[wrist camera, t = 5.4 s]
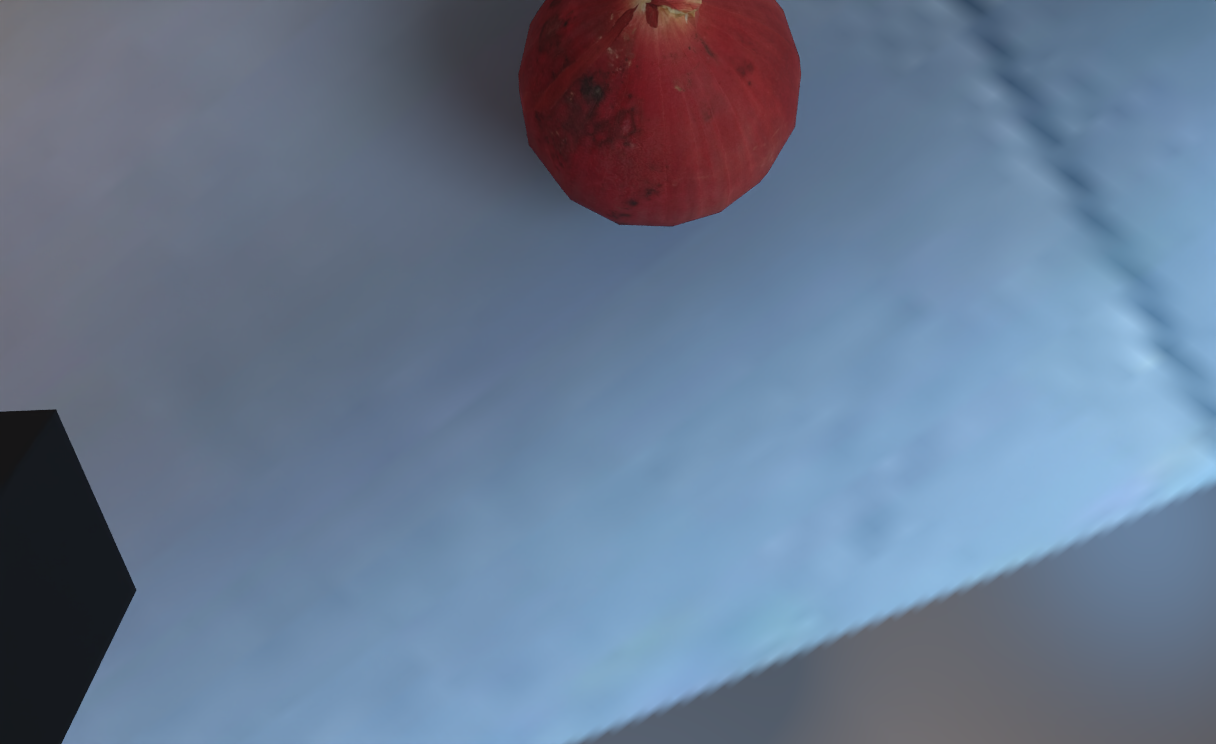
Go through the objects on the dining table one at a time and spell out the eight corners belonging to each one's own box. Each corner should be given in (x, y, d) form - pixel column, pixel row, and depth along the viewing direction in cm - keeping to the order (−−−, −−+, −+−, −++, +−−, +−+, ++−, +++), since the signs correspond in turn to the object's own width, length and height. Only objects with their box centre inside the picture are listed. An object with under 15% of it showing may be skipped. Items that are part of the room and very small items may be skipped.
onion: (635, 313, 26) (621, 211, 18) (494, 132, 27) (422, -40, 19) (828, 169, 26) (895, 7, 19) (681, -6, 27) (686, -231, 20)
